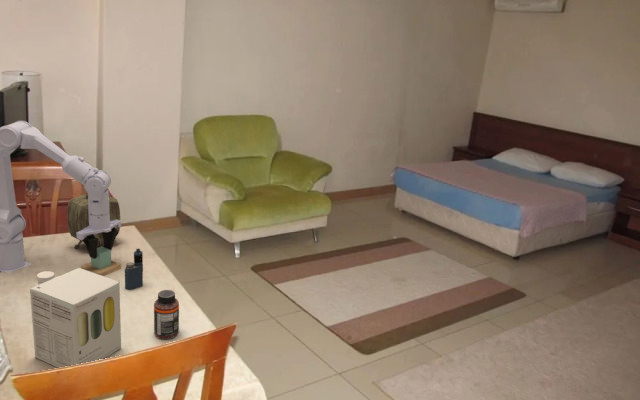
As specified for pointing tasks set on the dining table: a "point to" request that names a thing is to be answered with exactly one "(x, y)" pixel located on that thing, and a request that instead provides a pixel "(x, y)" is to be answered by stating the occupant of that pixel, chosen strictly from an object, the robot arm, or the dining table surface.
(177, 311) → the supplement bottle
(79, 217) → the tabletop clock
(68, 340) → the supplement box
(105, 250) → the block
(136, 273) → the vaping device
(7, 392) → the dining table surface
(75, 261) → the dining table surface
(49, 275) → the pill bottle
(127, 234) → the dining table surface
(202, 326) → the dining table surface
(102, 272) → the top slab
